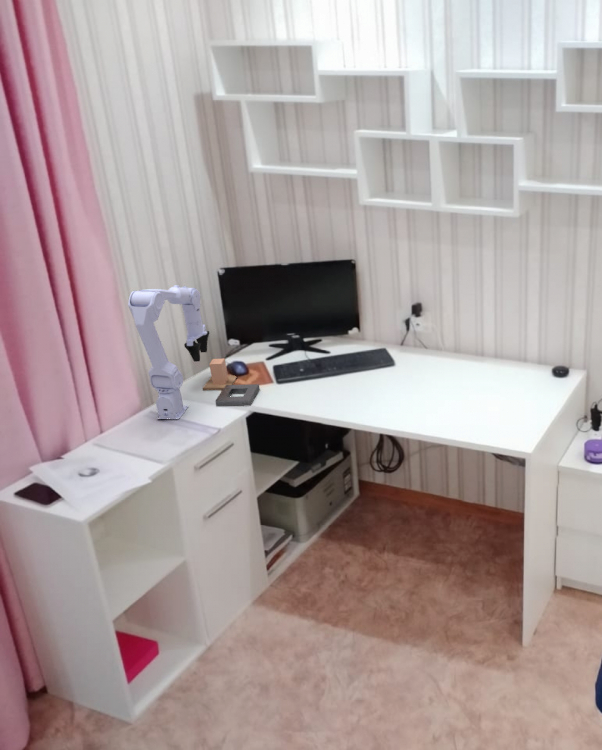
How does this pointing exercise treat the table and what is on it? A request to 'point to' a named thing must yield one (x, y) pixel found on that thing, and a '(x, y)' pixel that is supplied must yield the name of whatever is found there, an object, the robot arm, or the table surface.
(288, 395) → the table surface
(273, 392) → the table surface
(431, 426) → the table surface
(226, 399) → the socket plate
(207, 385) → the walnut pad
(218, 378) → the pinkish brown rectangular block
